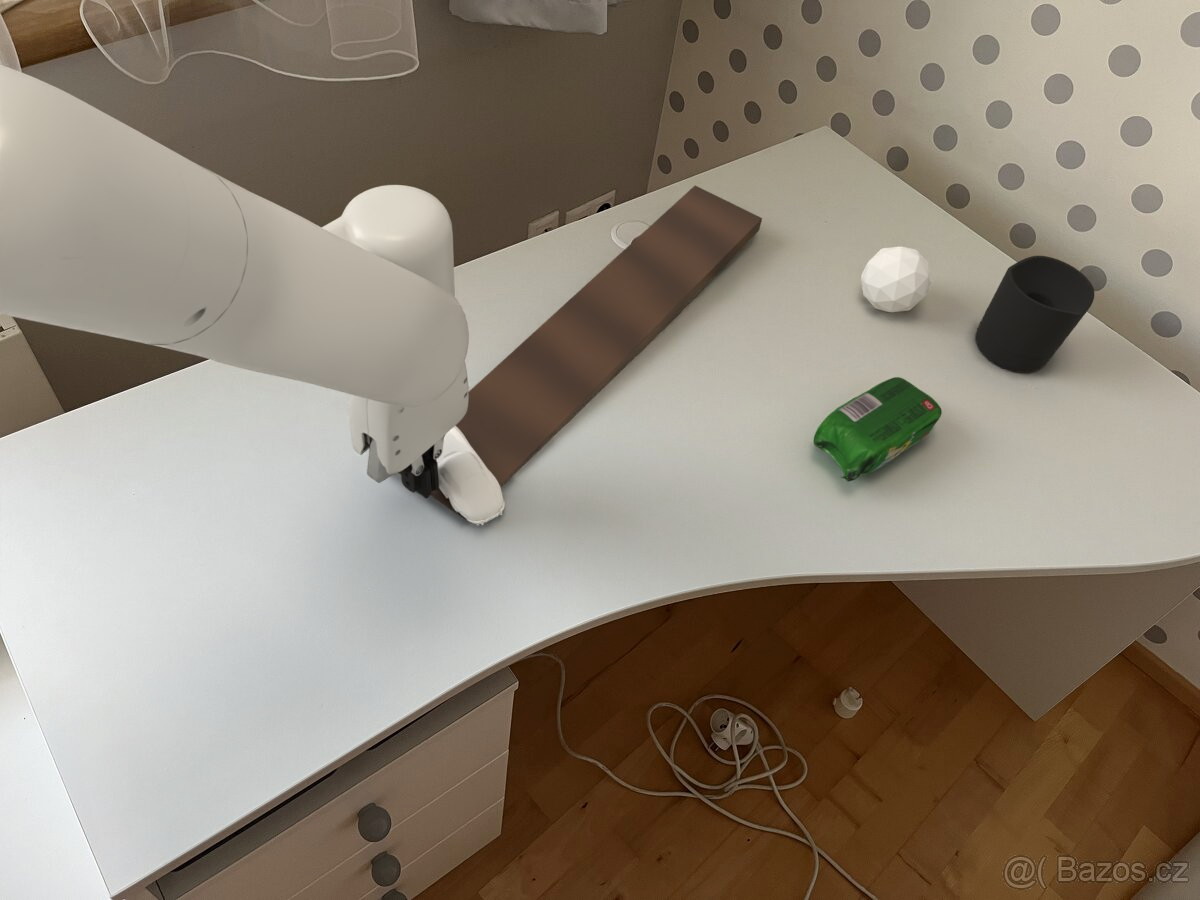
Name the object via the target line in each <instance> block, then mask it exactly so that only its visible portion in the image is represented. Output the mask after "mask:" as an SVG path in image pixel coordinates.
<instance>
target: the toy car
mask: <svg viewBox="0 0 1200 900" xmlns="http://www.w3.org/2000/svg"><path fill="white" fill-rule="evenodd" d="M436 460H437V463H438V478H439V488H440V490H441V491H442V493H443V494H444V495H445V497H446V498H449V500H450V503H451V505H452V507H453V508H454V510H455V511H456V512H459V513H460V514H461V515H462V516H464V517H465V518H466V519H465V520H466V521H468V522H470V523H472V524H474V525H475V524H476V526H478V527H479V526H480V525H481V526H484V525H485V524H484V523H486V524H487V523H488V522H489V521H492V520H493V519H496V518H497V517H499V516H503V511H504V510H505V507H506V506H505V504H506V503H505V500H504V498H503V497H504V496H503V493H502V487H500V485H499V483H498V481H497V480H496V478H495V477H494V475H493V474H492V473H491V472H490V471H489V470H488V469H487V467H486V466H485V464H484V463H483V462H482V460H481V459H480V457H479V456H478V455H477V453H476V452H475V451H474V449H473V448H472V447H471V445H470V444H469V442H468V441H467V439H466V438H465V436H464V435H463V433H462V432H461V431H460V430H459V428H458V427H456V426H454V427H453V428H452V429H451V430H450V431H449V432H448V433H446V435H445V436H444V442H443V452H442V454H441V456H440V457H439V458H438V459H436ZM441 473H442V474H441ZM443 476H444V477H443ZM446 480H447V481H446ZM456 512H455V513H456Z"/></svg>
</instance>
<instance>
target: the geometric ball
mask: <svg viewBox="0 0 1200 900" xmlns="http://www.w3.org/2000/svg"><path fill="white" fill-rule="evenodd" d="M860 281H861V288H862V296H864V297H865V298H866V299H867V301H868V302H869V303H870V304H871V305H872V307H873V308H874V309H877V310H880V311H883V312H887V313H899V312H907V311H911V309H913V308H914V307H915V306H916V305H917V304H919V303H920V302H921V301H922V300H923V299H924V298H925V297H926V295H927V293H928V290H929V288H930V286H931V284H932V278H931V269H930V263H929V262H928V261H927V260H926V258H924V257H923V256H922V254H921V253H920V252H919V251H918V250H917V249H915V248H910V247H906V246H902V245H901V246H891V247H884V248H883V247H882V248H881V249H880V250H878V251H877V253H875V254H874V255H873V256H872V258H870V259H869V260H868V261H867V263H866V265H865V267H864V268H863V271H862V273H861V274H860Z"/></svg>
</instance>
